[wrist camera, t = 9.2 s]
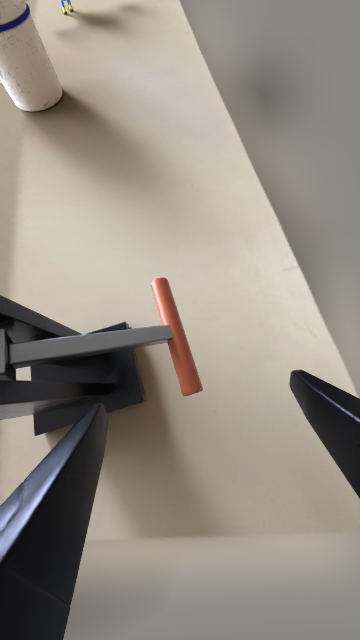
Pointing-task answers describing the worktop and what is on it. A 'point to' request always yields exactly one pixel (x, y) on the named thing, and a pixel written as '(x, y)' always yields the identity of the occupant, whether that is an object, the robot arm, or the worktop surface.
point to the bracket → (65, 375)
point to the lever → (110, 344)
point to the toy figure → (64, 7)
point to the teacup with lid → (25, 60)
